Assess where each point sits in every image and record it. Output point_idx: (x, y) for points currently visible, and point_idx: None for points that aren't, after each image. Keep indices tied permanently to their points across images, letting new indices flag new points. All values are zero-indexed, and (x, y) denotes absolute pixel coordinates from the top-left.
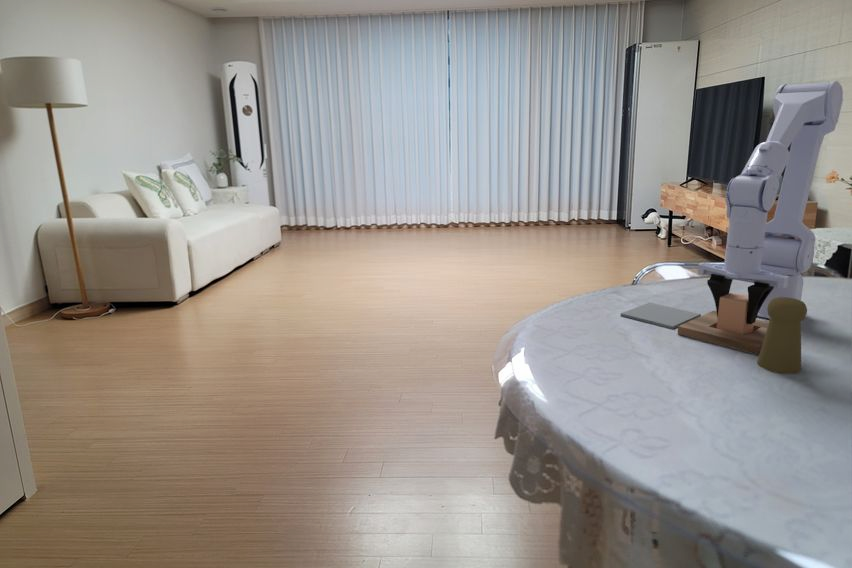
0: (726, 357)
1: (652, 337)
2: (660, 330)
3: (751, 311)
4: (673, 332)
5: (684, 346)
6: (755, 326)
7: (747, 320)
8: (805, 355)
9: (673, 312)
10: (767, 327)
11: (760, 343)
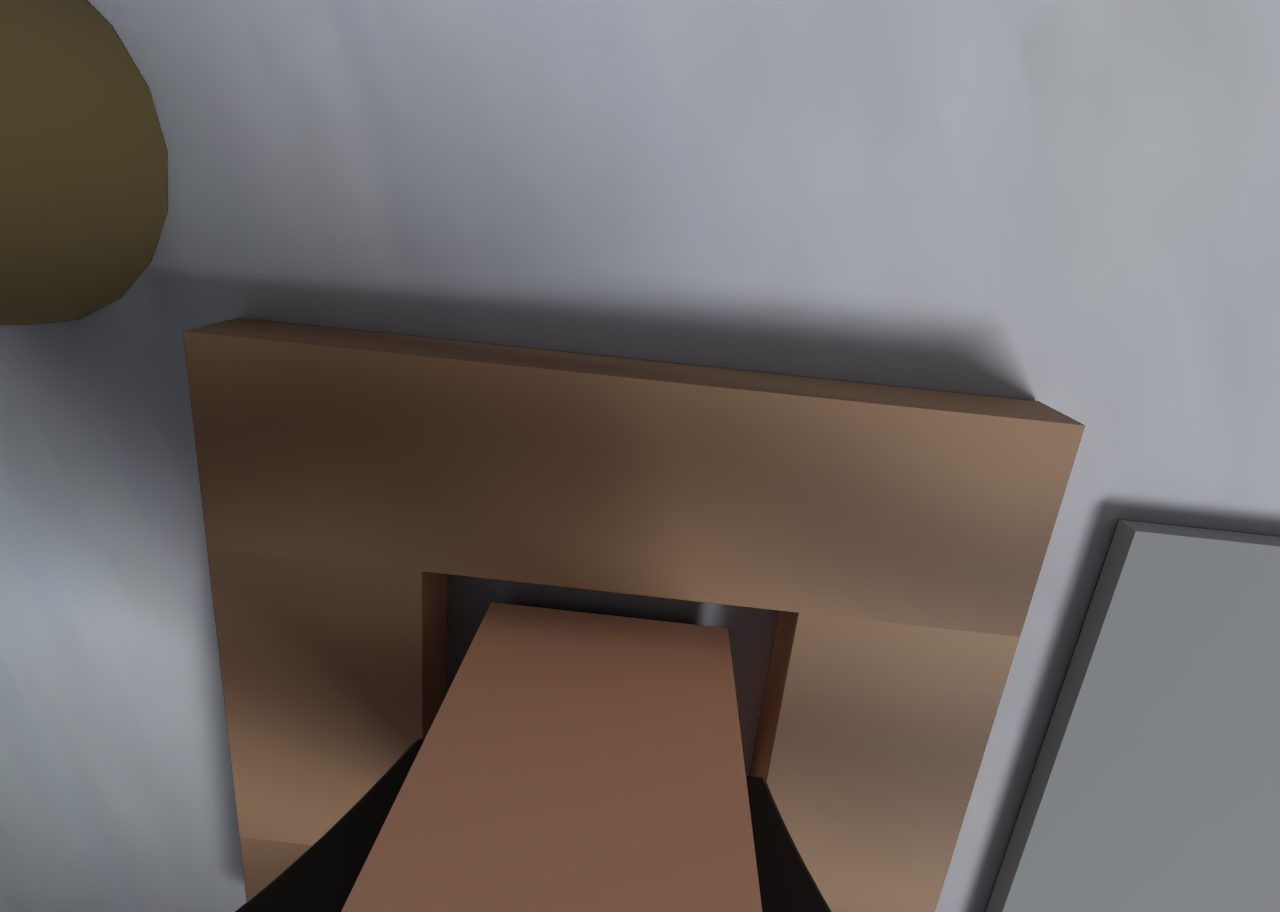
0: (409, 22)
1: (1269, 102)
2: (1226, 400)
3: (338, 842)
4: (1086, 426)
5: (869, 53)
6: None
7: None
8: (12, 559)
9: (1213, 903)
10: None
11: (219, 422)
